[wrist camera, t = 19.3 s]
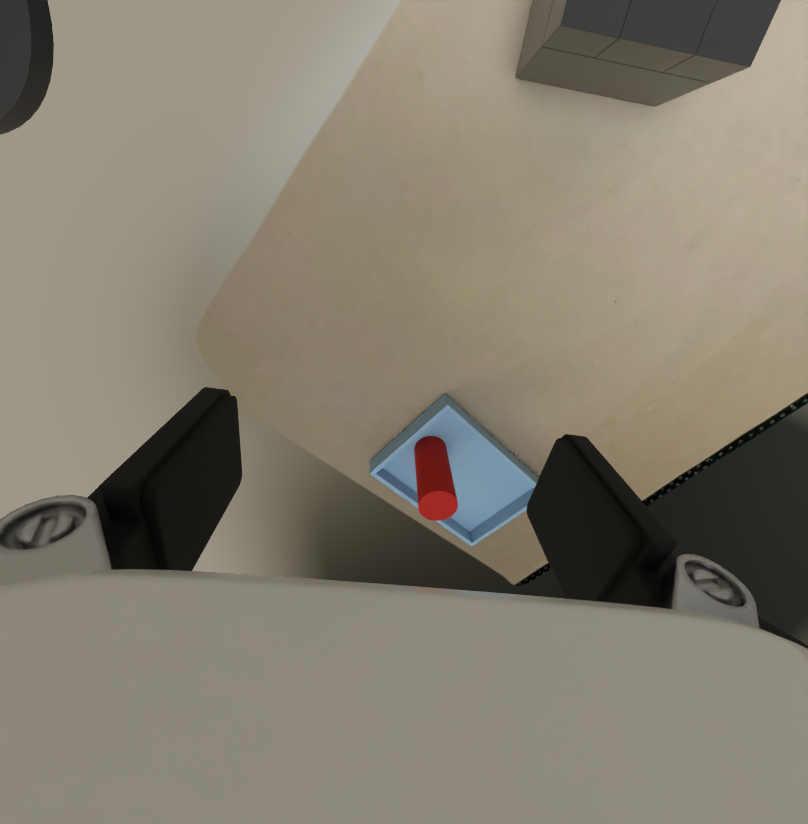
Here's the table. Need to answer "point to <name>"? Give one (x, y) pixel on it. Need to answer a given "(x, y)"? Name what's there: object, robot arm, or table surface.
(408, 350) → the table surface
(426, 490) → the plug
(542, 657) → the robot arm
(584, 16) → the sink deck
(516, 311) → the table surface
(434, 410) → the tray
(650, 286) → the table surface
